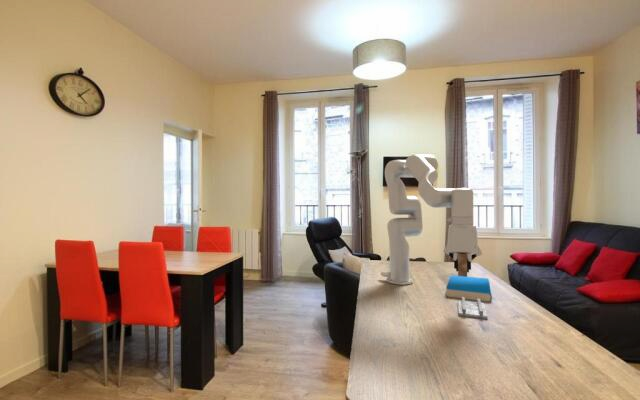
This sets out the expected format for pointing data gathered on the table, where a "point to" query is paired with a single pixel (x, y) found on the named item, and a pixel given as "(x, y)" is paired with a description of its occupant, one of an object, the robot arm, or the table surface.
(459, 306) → the floor track
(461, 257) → the door panel
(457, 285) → the book
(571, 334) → the table surface
